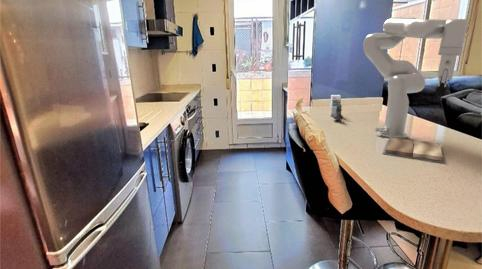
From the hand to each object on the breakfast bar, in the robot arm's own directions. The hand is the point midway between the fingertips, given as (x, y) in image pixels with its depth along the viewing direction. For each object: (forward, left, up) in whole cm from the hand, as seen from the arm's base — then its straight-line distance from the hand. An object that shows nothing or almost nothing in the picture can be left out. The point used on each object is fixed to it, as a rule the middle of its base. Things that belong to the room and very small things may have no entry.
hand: (439, 95), depth 121 cm
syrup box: (-25, +68, -24) cm, 77 cm away
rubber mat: (-9, -3, -24) cm, 26 cm away
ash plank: (-5, -6, -23) cm, 25 cm away
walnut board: (-14, -1, -24) cm, 28 cm away
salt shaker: (-27, +52, -24) cm, 64 cm away
